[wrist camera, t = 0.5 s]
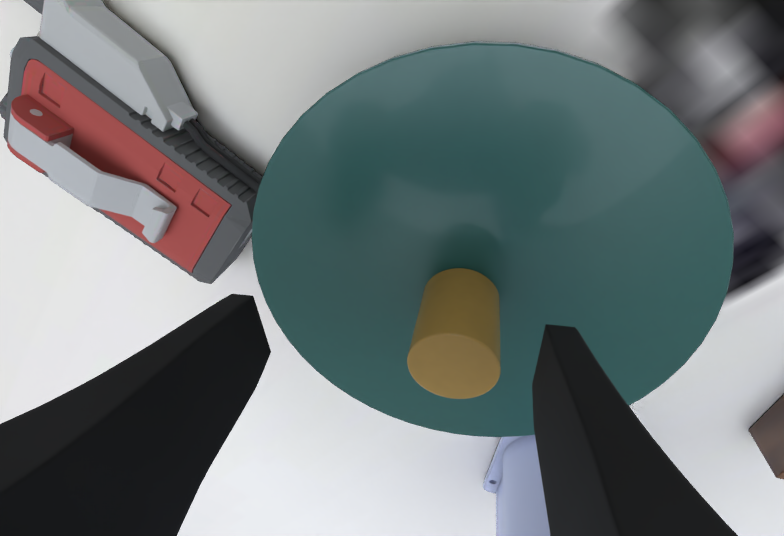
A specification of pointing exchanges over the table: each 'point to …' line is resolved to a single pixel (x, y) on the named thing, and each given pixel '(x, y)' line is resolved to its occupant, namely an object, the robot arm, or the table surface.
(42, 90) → the walkie-talkie
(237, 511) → the table surface
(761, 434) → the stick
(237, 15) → the table surface
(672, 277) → the tin lid
